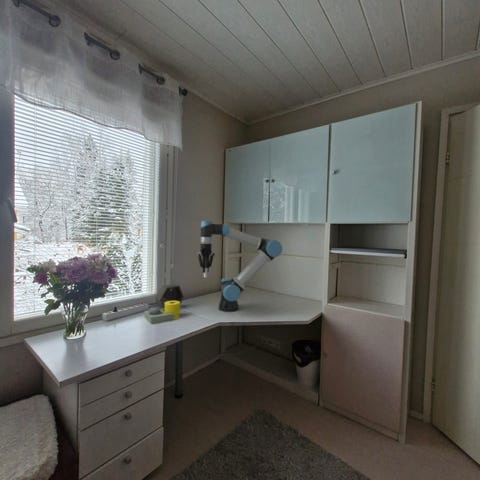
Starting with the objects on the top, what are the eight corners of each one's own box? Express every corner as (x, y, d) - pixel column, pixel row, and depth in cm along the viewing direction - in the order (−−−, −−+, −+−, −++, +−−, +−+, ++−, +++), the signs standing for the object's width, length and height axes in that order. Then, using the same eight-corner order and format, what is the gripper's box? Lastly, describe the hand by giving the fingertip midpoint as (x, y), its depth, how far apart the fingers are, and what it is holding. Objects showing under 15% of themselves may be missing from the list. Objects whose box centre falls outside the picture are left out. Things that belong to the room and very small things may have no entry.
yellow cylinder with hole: (181, 314, 177) (181, 301, 176) (176, 319, 167) (176, 305, 166) (167, 313, 178) (167, 300, 177) (162, 318, 168) (162, 304, 167)
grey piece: (166, 313, 178) (166, 303, 178) (173, 319, 166) (173, 309, 165) (144, 317, 170) (144, 306, 169) (151, 324, 157) (151, 312, 157)
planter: (155, 307, 176) (170, 280, 183) (150, 304, 181) (165, 279, 188) (173, 316, 186) (187, 290, 193) (168, 313, 191) (182, 288, 198)
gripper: (211, 242, 181) (211, 275, 182) (195, 242, 174) (194, 277, 175) (217, 243, 175) (216, 277, 176) (199, 243, 168) (199, 279, 169)
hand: (205, 277), depth 175 cm, fingers closed
